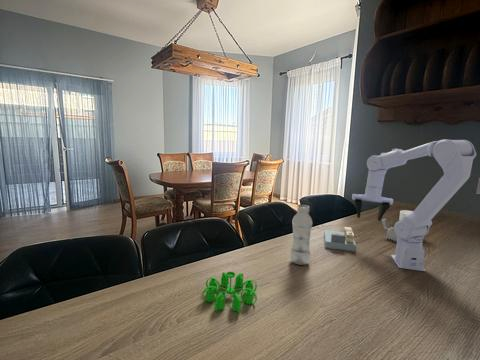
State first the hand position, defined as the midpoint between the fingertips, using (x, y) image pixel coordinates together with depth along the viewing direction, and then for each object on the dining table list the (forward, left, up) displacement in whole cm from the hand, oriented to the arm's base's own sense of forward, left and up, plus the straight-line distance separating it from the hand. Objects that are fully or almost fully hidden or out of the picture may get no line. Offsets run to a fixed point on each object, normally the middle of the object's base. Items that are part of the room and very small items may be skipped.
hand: (368, 218), depth 105 cm
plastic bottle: (-26, +25, -11) cm, 38 cm away
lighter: (+9, -11, -11) cm, 18 cm away
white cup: (+18, -21, -11) cm, 30 cm away
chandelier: (-51, +42, -11) cm, 67 cm away
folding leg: (-3, +7, -8) cm, 11 cm away
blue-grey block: (-3, +11, -11) cm, 15 cm away
